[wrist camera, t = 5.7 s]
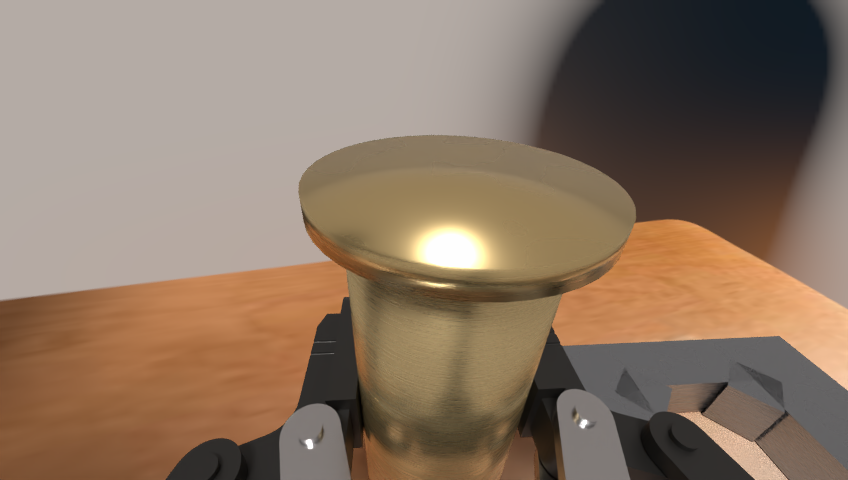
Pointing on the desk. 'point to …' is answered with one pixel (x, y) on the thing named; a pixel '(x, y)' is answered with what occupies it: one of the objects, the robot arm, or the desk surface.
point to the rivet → (456, 284)
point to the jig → (730, 394)
